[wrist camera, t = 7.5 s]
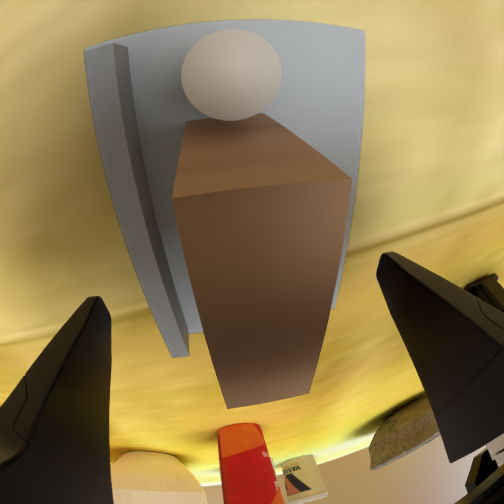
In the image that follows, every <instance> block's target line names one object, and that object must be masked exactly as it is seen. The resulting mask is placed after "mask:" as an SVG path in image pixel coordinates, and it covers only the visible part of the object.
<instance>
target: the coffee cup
mask: <svg viewBox="0 0 504 504" xmlns="http://www.w3.org/2000/svg"><path fill="white" fill-rule="evenodd" d="M282 470H283V475H284V481H285V487H286V492H287V498H288V504H301V503H305V502H309V501H312V500H316V499H320V498H323V497H326V496H327V493H328V492H327V490H326V487H325V485H324V482H323V479H322V477H321V474H320V472H319V469H318V467H317V464H316V462H315V459H314V457H313V455H305V456H300V457H296V458H293V459H290V460H287V461H284V462H283V463H282Z"/></svg>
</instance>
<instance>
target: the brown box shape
mask: <svg viewBox="0 0 504 504" xmlns="http://www.w3.org/2000/svg"><path fill="white" fill-rule="evenodd" d="M351 186H352V178H350V177H349V176H348V175H347V174H346V173H344V172H343V171H342V170H341V169H340V168H338V167H337V166H336V165H335V164H333V163H332V162H331V161H330V160H328V159H327V158H326V157H324V156H323V155H322V154H321V153H319V152H318V151H317V150H315V149H314V148H313V147H311V146H310V145H309V144H307V143H306V142H305V141H303V140H302V139H301V138H299V137H298V136H296V135H295V134H294V133H292V132H291V131H289V130H288V129H287V128H285V127H284V126H282V125H281V124H279V123H278V122H277V121H275V120H274V119H272V118H271V117H269V116H268V115H266V114H265V113H262V114H256V115H254V116H252V117H249V118H246V119H242V120H236V121H226V120H219V119H215V118H207V119H199V120H192V121H186V125H185V130H184V135H183V140H182V144H181V150H180V155H179V160H178V165H177V171H176V177H175V183H174V189H173V195H172V201H173V206H174V211H175V216H176V221H177V226H178V230H179V235H180V240H181V244H182V249H183V253H184V257H185V262H186V266H187V270H188V274H189V278H190V282H191V286H192V290H193V294H194V298H195V302H196V306H197V310H198V313H199V317H200V321H201V324H202V328H203V332H204V335H205V339H206V342H207V346H208V349H209V352H210V356H211V359H212V362H213V366H214V369H215V372H216V375H217V379H218V382H219V385H220V388H221V391H222V394H223V397H224V400H225V403H226V406H227V409H230V408H237V407H244V406H250V405H256V404H261V403H267V402H272V401H277V400H282V399H286V398H291V397H295V396H299V395H304V394H308V393H309V391H310V388H311V385H312V381H313V378H314V374H315V370H316V367H317V363H318V359H319V355H320V352H321V348H322V344H323V340H324V336H325V331H326V327H327V323H328V319H329V314H330V310H331V305H332V301H333V296H334V291H335V286H336V281H337V276H338V271H339V265H340V260H341V254H342V248H343V242H344V236H345V230H346V223H347V216H348V209H349V202H350V194H351Z"/></svg>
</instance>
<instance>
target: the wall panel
mask: <svg viewBox="0 0 504 504" xmlns="http://www.w3.org/2000/svg"><path fill="white" fill-rule="evenodd" d="M84 59H85V69H86V77H87V85H88V92H89V98H90V105H91V111H92V116H93V122H94V127H95V132H96V137H97V142H98V146H99V151H100V155H101V160H102V164H103V168H104V172H105V176H106V180H107V184H108V187H109V191H110V195H111V198H112V202H113V205H114V209H115V212H116V215H117V219H118V222H119V225H120V228H121V231H122V234H123V238H124V241H125V244H126V246H127V249H128V252H129V255H130V258H131V261H132V264H133V266H134V269H135V272H136V274H137V277H138V280H139V282H140V285H141V288H142V290H143V293H144V295H145V298H146V300H147V303H148V305H149V307H150V310H151V312H152V314H153V317H154V319H155V321H156V324H157V326H158V328H159V331H160V333H161V335H162V337H163V339H164V342H165V344H166V346H167V348H168V350H169V352H170V354H171V356H172V358H176V357H185V356H189V337H188V334H192V333H199V332H203V328H202V324H201V321H200V317H199V313H198V310H197V306H196V302H195V298H194V294H193V290H192V286H191V282H190V278H189V274H188V270H187V266H186V262H185V257H184V253H183V249H182V244H181V240H180V235H179V230H178V226H177V221H176V216H175V211H174V206H173V201H172V195H173V189H174V183H175V177H176V171H177V165H178V160H179V155H180V150H181V144H182V140H183V135H184V130H185V125H186V121H192V120H199V119H207V118H215V119H219V120H226V121H236V120H242V119H246V118H249V117H252V116H254V115H256V114H262V113H265V114H266V115H268V116H269V117H271V118H272V119H274V120H275V121H277V122H278V123H279V124H281V125H282V126H284V127H285V128H287V129H288V130H289V131H291V132H292V133H294V134H295V135H296V136H298V137H299V138H301V139H302V140H303V141H305V142H306V143H307V144H309V145H310V146H311V147H313V148H314V149H315V150H317V151H318V152H319V153H321V154H322V155H323V156H324V157H326V158H327V159H328V160H330V161H331V162H332V163H333V164H335V165H336V166H337V167H338V168H340V169H341V170H342V171H343V172H344V173H346V174H347V175H348V176H349V177H350V178H352V186H351V194H350V202H349V209H348V216H347V223H346V230H345V236H344V242H343V248H342V254H341V260H340V265H339V271H338V276H337V281H336V286H335V291H334V296H333V301H332V305H331V309H335V304H336V300H337V295H338V291H339V286H340V282H341V277H342V272H343V267H344V262H345V256H346V251H347V245H348V240H349V234H350V228H351V222H352V215H353V208H354V201H355V194H356V187H357V178H358V170H359V161H360V151H361V140H362V127H363V112H364V91H365V30H360V29H355V28H349V27H343V26H337V25H330V24H322V23H314V22H304V21H290V20H263V19H250V20H223V21H210V22H200V23H191V24H183V25H177V26H170V27H164V28H159V29H154V30H149V31H144V32H139V33H135V34H131V35H127V36H123V37H119V38H116V39H112V40H109V41H105V42H102V43H99V44H96V45H93V46H90V47H87V48H85V52H84Z"/></svg>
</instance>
